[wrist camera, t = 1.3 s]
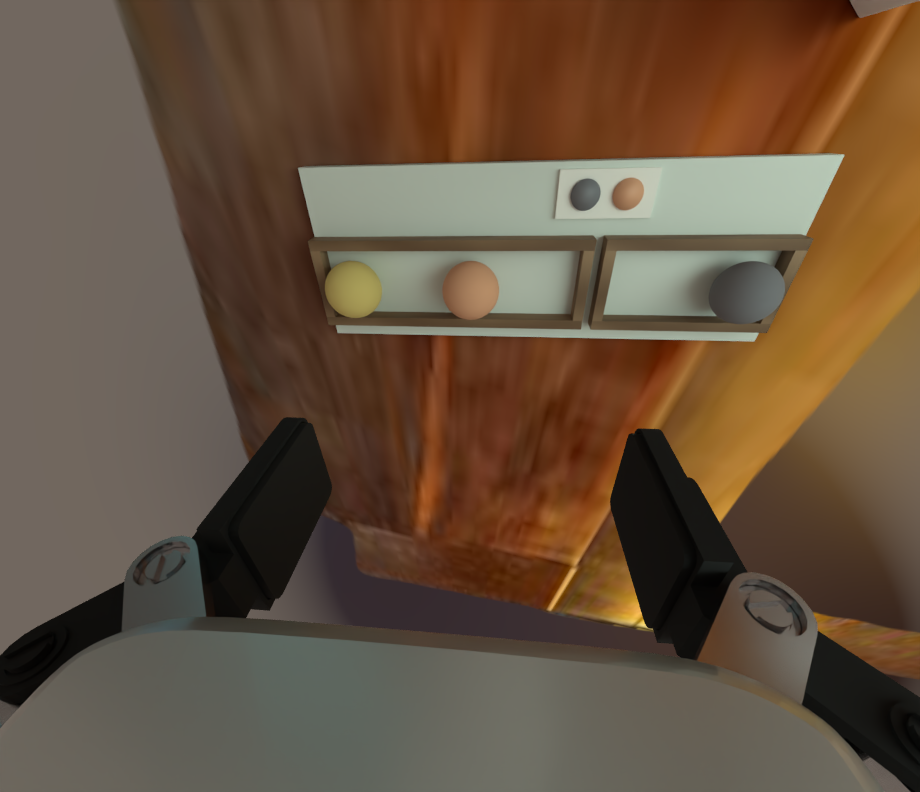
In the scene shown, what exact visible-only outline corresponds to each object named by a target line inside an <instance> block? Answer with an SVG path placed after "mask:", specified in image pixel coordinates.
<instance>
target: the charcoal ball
mask: <svg viewBox="0 0 920 792" xmlns="http://www.w3.org/2000/svg"><path fill="white" fill-rule="evenodd" d="M784 293H785V282H784V279H783V277H782V275H781V274H780V272H779V271H778V270H777V269H776V268H774V267H773V266H771V265H769V264H767V263H764V262H759V261H747V262H742V263H738V264H735V265H733V266H731V267H729V268H727V269H726V270H724V271H723V272H722V273H721V274H719V275H718V277H717V278H716V279H715V280H714V282H713V283H712V285H711V288H710V291H709V304H710V307H711V309H712V311H713V312H714V313H715V315H716V316H718V317H719V318H720V319H722V320H724V321H726V322H729V323H733V324H749V323H753V322H756V321H759V320H761V319H763V318H765V317H767V316H768V315H770V314H771V313H772V312H773V311H774V310H775V309H776V308H777V307H778V306H779V305H780V303H781V301H782V299H783V297H784Z"/></svg>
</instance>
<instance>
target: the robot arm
mask: <svg viewBox="0 0 920 792" xmlns="http://www.w3.org/2000/svg"><path fill="white" fill-rule="evenodd" d="M331 490H332V484H331V481H330V477H329V474H328V471H327V468H326V465H325V462H324V459H323V456H322V453H321V450H320V447H319V443H318V440H317V437H316V434H315V431H314V428H313V425H312V424H311V423H308V422H307V420H306V419H305V418H289V417H286V418H284V419H282V420H281V422H280V423H279V424H278V425H277V427H276V428H275V429H274V431H273V432H272V433H271V434H270V436H269V437H268V438H267V440H266V441H265V442H264V443H263V445H262V446H261V447H260V449H259V450H258V451H257V452H256V454H255V455H254V456H253V457H252V459H251V460H250V461H249V463H248V464H247V465H246V466H245V468H244V469H243V470H242V472H241V473H240V474H239V475H238V477H237V478H236V479H235V481H234V482H233V483H232V484H231V486H230V487H229V488H228V490H227V491H226V492H225V493H224V495H223V496H222V497H221V498H220V500H219V501H218V502H217V504H216V505H215V506H214V508H213V509H212V510H211V511H210V513H209V514H208V515H207V516H206V518H205V519H204V520H203V521H202V523H201V524H200V525H199V527H198V528H197V532H196V533H195V535H194V536H193V537H192V538H190V537H187V536H176V537H170V538H168V539H165V540H162V541H160V542H158V543H156V544H154V545H152V546H151V547H149V548H148V549H146V550H145V551H144V552H142V553H141V554H140V555H139V556H138V557H137V558H136V559H135V560H134V561H133V563H132V564H131V566H130V567H129V569H128V570H127V573H126V576H125V581H124V582H123V583H121V584H119V585H117V586H115V587H113V588H111V589H109V590H107V591H105V592H104V593H102V594H100V595H98V596H96V597H94V598H92V599H90V600H88V601H86V602H84V603H82V604H80V605H78V606H76V607H74V608H72V609H71V610H69V611H67V612H65V613H63V614H61V615H59V616H57V617H55V618H53V619H51V620H49V621H47V622H45V623H44V624H42V625H40V626H38V627H36V628H34V629H33V630H31V631H30V632H28V633H26V634H24V635H23V636H22V637H20V638H19V639H18V640H17V641H15V642H14V643H13V644H12V645H10V646H9V647H8V648H7V649H6V650H5V651H4V652H3V654H1V655H0V792H920V697H918V696H917V695H915V694H914V693H912V692H911V691H909V690H907V689H906V688H904V687H903V686H901V685H900V684H898V683H897V682H895V681H894V680H892V679H891V678H889V677H887V676H886V675H885V674H883V673H882V672H880V671H878V670H877V669H875V668H874V667H872V666H871V665H869V664H868V663H866V662H865V661H863V660H862V659H860V658H859V657H857V656H855V655H854V654H852V653H851V652H849V651H848V650H846V649H845V648H843V647H842V646H840V645H839V644H837V643H836V642H834V641H833V640H831V639H829V638H828V637H826V636H825V635H823V634H822V633H820V632H819V631H817V622H816V619H815V617H814V614H813V612H812V611H811V609H810V608H809V606H808V605H807V604H806V603H805V602H804V600H803V599H802V598H801V597H800V596H799V595H798V594H797V593H796V592H795V591H793V590H792V589H790V588H789V587H788V586H786V585H785V584H783V583H782V582H780V581H778V580H776V579H774V578H772V577H769V576H767V575H763V574H759V573H748V572H747V570H746V569H745V567H744V565H743V564H742V562H741V560H740V558H739V557H738V555H737V553H736V551H735V549H734V548H733V546H732V544H731V542H730V541H729V539H728V537H727V535H726V533H725V532H724V530H723V528H722V526H721V525H720V523H719V521H718V519H717V518H716V516H715V514H714V512H713V511H712V509H711V507H710V505H709V503H708V502H707V500H706V498H705V496H704V495H703V493H702V491H701V489H700V488H699V486H698V484H697V483H696V482H695V480H693V479H692V478H687V476H686V474H685V473H684V471H683V469H682V467H681V465H680V463H679V462H678V460H677V458H676V456H675V454H674V452H673V451H672V449H671V447H670V445H669V443H668V441H667V440H666V438H665V436H664V434H663V432H662V431H661V430H659V429H637V430H636V431H635V434H632V433H631V434H629V436H628V439H627V442H626V446H625V449H624V453H623V456H622V460H621V463H620V466H619V470H618V473H617V477H616V480H615V484H614V487H613V491H612V494H611V499H610V505H611V511H612V514H613V517H614V521H615V524H616V528H617V531H618V534H619V538H620V541H621V544H622V548H623V551H624V555H625V558H626V561H627V565H628V568H629V572H630V575H631V578H632V582H633V585H634V588H635V592H636V595H637V599H638V602H639V605H640V609H641V612H642V616H643V619H644V622H645V624H646V626H647V627H648V628H653V630H654V633H655V637H656V640H657V642H658V643H669V644H674V647H675V650H676V653H677V655H678V656H680V657H681V658H679V657H673V656H666V655H660V654H654V653H645V652H635V651H625V650H617V649H608V648H598V647H589V646H577V645H567V644H556V643H544V642H534V641H522V640H511V639H500V638H489V637H478V636H466V635H454V634H442V633H431V632H419V631H407V630H395V629H383V628H382V629H381V628H371V627H359V626H345V625H333V624H320V623H308V622H295V621H283V620H267V619H250V618H246V617H247V615H248V613H249V611H250V609H257V610H270V608H271V607H272V605H273V602H274V601H275V599H277V598H280V596H281V595H282V594H283V592H284V590H285V588H286V586H287V584H288V582H289V580H290V578H291V576H292V574H293V571H294V569H295V567H296V565H297V563H298V561H299V559H300V557H301V555H302V553H303V550H304V549H305V546H306V544H307V542H308V540H309V538H310V536H311V534H312V532H313V530H314V528H315V526H316V524H317V521H318V519H319V517H320V515H321V513H322V511H323V509H324V507H325V505H326V503H327V501H328V499H329V497H330V494H331Z"/></svg>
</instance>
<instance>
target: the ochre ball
mask: <svg viewBox="0 0 920 792" xmlns="http://www.w3.org/2000/svg"><path fill="white" fill-rule="evenodd" d="M325 293H326V297H327V300H328V302H329V303H330V305H331V306H332V307H333V308H334V309H335V310H336V311H337V312H338V313H340V314H342V315H344V316H346V317H350V318H361V317H365V316H367V315H369V314H371V313H372V312H373V311H374V310H375V309H376V308H377V307H378V305H379V303H380V301H381V297H382V286H381V282H380V279H379V277H378V276H377V274H376V273H375V272H374V271H373V270H372V269H371V268H370V267H369V266H367V265H366V264H364V263H361V262H358V261H345V262H342V263H339V264H338V265H336V266H335V267H333V268H332V270H331V271H330V272H329V274H328V275H327V278H326V281H325Z"/></svg>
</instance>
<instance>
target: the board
mask: <svg viewBox="0 0 920 792" xmlns="http://www.w3.org/2000/svg"><path fill="white" fill-rule="evenodd" d="M843 157H844V155H842V154H832V153H824V154H783V155H742V156H701V157H661V158H620V159H579V160H538V161H498V162H457V163H416V164H375V165H335V166H304V167H300V168H298V170H299V175H300V179H301V183H302V187H303V191H304V195H305V199H306V204H307V208H308V212H309V216H310V220H311V224H312V228H313V233H314V237H380V236H559V235H593V236H594V237H595V238H596V239H597V241H596V247H595V253H594V258H593V264H592V270H591V275H590V281H589V287H588V292H587V298H586V304H585V309H584V315H583V321H582V326H581V330H577V329H522V328H466V327H410V326H354V325H336V328H337V332H338V333H362V334H412V335H462V336H512V337H562V338H612V339H662V340H712V341H755V339H756V337H757V335H758V333H745V332H689V331H633V330H590V327H589V325H588V319H589V313H590V308H591V303H592V297H593V292H594V286H595V281H596V276H597V270H598V265H599V259H600V254H601V249H602V243H603V238H604V235H738V234H802V235H805V236H806V234H807V232H808V230H809V227H810V225H811V223H812V221H813V219H814V217H815V215H816V213H817V211H818V209H819V207H820V205H821V203H822V201H823V199H824V196H825V194H826V192H827V190H828V188H829V186H830V184H831V182H832V180H833V178H834V176H835V174H836V172H837V170H838V167H839V165H840V163H841V161H842V159H843ZM781 252H782V251H617V252H616V257H615V261H614V266H613V271H612V276H611V280H610V285H609V290H608V295H607V300H606V304H605V309H604V314H603V315H668V316H716V315H715V313H714V312H713V311H712V309H711V307H710V304H709V291H710V288H711V285H712V283H713V282H714V280H715V279H716V278H717V277H718V275H719V274H721V273H722V272H723V271H724V270H726V269H727V268H729V267H731V266H733V265H735V264H738V263H742V262H747V261H759V262H764V263H767V264H769V265H771V266H773V267H775V265H776V263H777V260H778V258H779V256H780V254H781ZM327 253H328V258H329V262H330V266H331V270H332V268H333V267H335V266H336V265H338V264H339V263H342V262H345V261H358V262H361V263H364V264H366V265H367V266H369V267H370V268H371V269H372V270H373V271H374V272H375V273H376V274H377V276H378V277H379V279H380V282H381V286H382V297H381V301H380V303H379V305H378V307H377V308H376V309H375V310H374V311H385V312H451V311H450V310H449V309H448V307H447V306H446V304H445V302H444V299H443V293H442V288H443V282H444V279H445V277H446V275H447V274H448V272H449V271H450V270H451V269H452V268H453V267H454V266H456V265H457V264H459V263H462V262H465V261H477V262H480V263H483V264H485V265H486V266H488V267H489V268H490V269H491V270H492V271H493V273H494V274H495V276H496V278H497V280H498V284H499V296H498V300H497V303H496V305H495V306H494V308H493V309H492V310H491V311H490V313H526V314H571V308H572V301H573V295H574V289H575V282H576V276H577V269H578V263H579V256H580V251H327Z"/></svg>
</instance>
